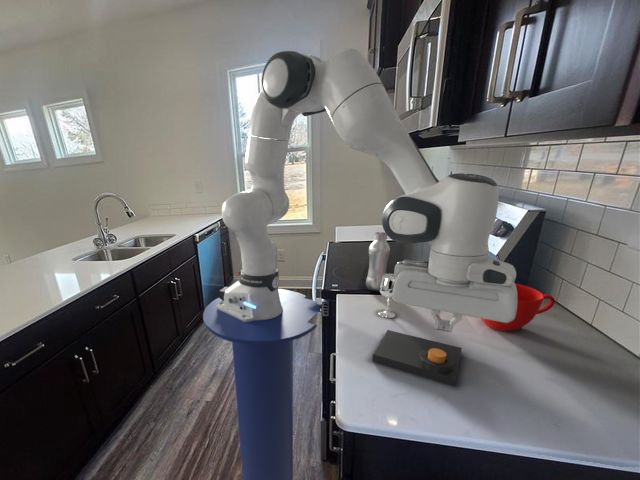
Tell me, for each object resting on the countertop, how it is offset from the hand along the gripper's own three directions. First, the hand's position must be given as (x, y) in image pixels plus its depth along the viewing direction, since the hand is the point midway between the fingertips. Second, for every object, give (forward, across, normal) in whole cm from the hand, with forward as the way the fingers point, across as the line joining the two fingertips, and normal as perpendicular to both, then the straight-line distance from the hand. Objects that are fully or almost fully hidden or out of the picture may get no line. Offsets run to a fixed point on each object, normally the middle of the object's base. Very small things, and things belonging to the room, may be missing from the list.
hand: (443, 329), depth 64 cm
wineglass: (+10, -15, +22) cm, 29 cm away
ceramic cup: (+11, +13, +32) cm, 36 cm away
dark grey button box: (+10, -4, +4) cm, 12 cm away
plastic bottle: (+10, -23, +40) cm, 47 cm away
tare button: (+7, 0, 0) cm, 7 cm away
